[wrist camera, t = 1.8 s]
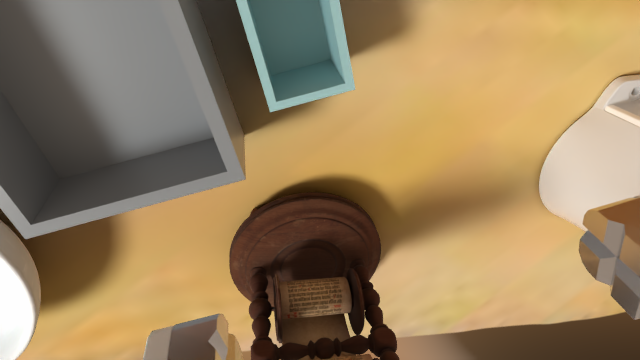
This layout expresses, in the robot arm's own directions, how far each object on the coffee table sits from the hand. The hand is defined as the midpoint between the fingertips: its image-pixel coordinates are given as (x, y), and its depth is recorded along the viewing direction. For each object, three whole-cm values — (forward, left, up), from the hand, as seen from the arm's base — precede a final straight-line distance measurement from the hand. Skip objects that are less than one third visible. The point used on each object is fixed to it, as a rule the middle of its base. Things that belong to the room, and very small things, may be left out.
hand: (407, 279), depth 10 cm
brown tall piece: (+4, +22, -27) cm, 35 cm away
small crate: (0, 0, -27) cm, 27 cm away
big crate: (+14, -2, -27) cm, 30 cm away
